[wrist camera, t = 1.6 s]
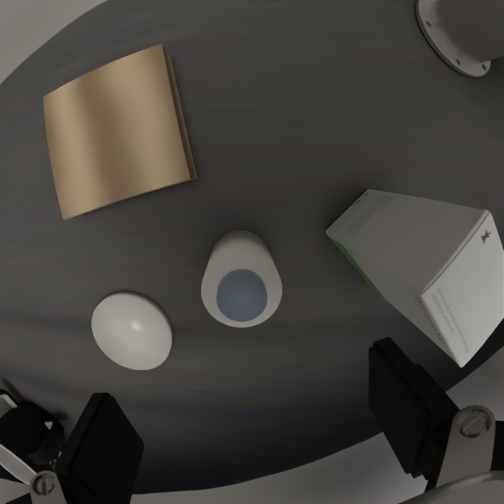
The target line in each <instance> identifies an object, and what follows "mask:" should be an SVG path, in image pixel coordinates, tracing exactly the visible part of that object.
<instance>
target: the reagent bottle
mask: <svg viewBox="0 0 504 504" xmlns="http://www.w3.org/2000/svg"><path fill="white" fill-rule="evenodd" d="M201 296H202V300H203V303H204V305H205V307H206V309H207V310H208V312H209V313H210V314H211V315H212V316H213V317H214V318H215V319H217V320H218V321H220V322H221V323H223V324H226V325H229V326H232V327H251V326H254V325H257V324H260V323H262V322H263V321H265V320H266V319H268V318H269V317H270V316H271V315H272V314H273V313H274V312H275V310H276V309H277V307H278V305H279V303H280V300H281V297H282V283H281V279H280V277H279V274H278V272H277V269H276V267H275V264H274V262H273V260H272V257H271V255H270V252H269V250H268V248H267V245H266V244H265V242H264V241H263V240H262V239H261V238H260V237H259V236H258V235H256V234H255V233H253V232H250V231H246V230H235V231H231V232H228V233H226V234H225V235H223V236H222V237H220V238H219V239H218V241H217V242H216V243H215V245H214V247H213V250H212V253H211V256H210V259H209V262H208V265H207V268H206V271H205V274H204V277H203V280H202V285H201Z"/></svg>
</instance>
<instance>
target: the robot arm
mask: <svg viewBox="0 0 504 504" xmlns="http://www.w3.org/2000/svg"><path fill="white" fill-rule="evenodd" d="M416 16H417V20H418V23H419V25H420V28H421V30H422V32H423V33H424V35H425V37H426V39H427V40H428V42H429V43H430V45H431V46H432V47H433V49H434V50H435V51H436V53H437V54H438V55H439V56H440V57H441V58H442V59H443V60H444V61H445V62H446V63H447V64H448V65H449V66H450V67H452V68H453V69H455V70H456V71H457V72H459V73H461V74H463V75H465V76H468V77H480V76H483V75H485V74H486V73H487V72H488V70H489V68H490V64H491V60H492V59H495V58H499V57H502V56H504V0H417V3H416ZM368 400H369V406H370V408H371V410H372V412H373V414H374V416H375V418H376V419H377V421H378V423H379V425H380V427H381V429H382V431H383V432H384V434H385V436H386V438H387V440H388V442H389V443H390V445H391V447H392V449H393V451H394V453H395V455H396V457H397V458H398V460H399V462H400V464H401V466H402V468H403V470H404V472H405V473H406V474H409V473H411V475H412V477H413V478H416V477H418V476H420V475H422V474H423V476H424V478H425V479H426V480H428V482H427V485H426V488H425V491H424V493H423V494H420V495H418V496H416V497H413V498H411V499H408V500H406V501H404V502H402V503H399V504H504V421H495V417H494V415H493V413H492V412H491V411H490V410H489V409H488V408H486V407H484V406H479V405H472V406H467V407H465V408H463V409H461V410H460V409H459V408H458V407H457V406H456V405H455V404H454V402H453V401H452V400H451V399H450V398H449V397H448V395H447V394H446V393H445V392H444V391H443V390H442V388H441V387H440V386H439V385H438V384H437V383H436V382H435V380H434V379H433V378H432V377H431V376H430V375H429V374H428V373H427V371H426V370H425V369H424V368H423V367H422V366H421V365H420V364H413V363H412V361H411V360H410V359H409V358H408V357H407V356H406V355H405V353H404V352H403V351H402V350H401V349H400V348H399V347H398V346H397V345H396V343H395V342H394V341H393V340H392V339H391V338H390V337H387V338H384V339H381V340H378V341H375V342H374V343H373V347H370V348H369V398H368ZM143 450H144V443H143V441H142V439H141V438H140V436H139V435H138V433H137V432H136V431H135V429H134V428H133V426H132V425H131V423H130V422H129V420H128V419H127V417H126V416H125V414H124V413H123V411H122V409H121V408H120V406H119V405H118V403H117V401H116V400H115V398H114V397H113V396H111V395H110V394H109V393H94V394H93V395H92V396H91V398H90V400H89V402H88V403H87V405H86V407H85V409H84V411H83V412H82V414H81V416H80V418H79V420H78V422H77V424H76V425H75V427H74V429H73V431H72V433H71V435H70V437H69V439H68V441H67V443H66V445H65V447H64V449H63V450H62V452H61V454H60V456H59V458H58V461H57V463H56V465H55V467H54V469H55V470H56V471H57V474H54V473H53V472H51V471H41V472H39V473H37V474H36V475H35V476H34V477H33V478H32V480H31V481H30V485H29V488H30V493H28V494H25V495H23V496H21V497H19V498H17V499H14V500H12V501H10V502H7V503H6V504H130V500H131V496H132V492H133V488H134V484H135V480H136V476H137V472H138V469H139V465H140V461H141V457H142V454H143Z"/></svg>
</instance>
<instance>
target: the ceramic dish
mask: <svg viewBox="0 0 504 504" xmlns="http://www.w3.org/2000/svg"><path fill="white" fill-rule="evenodd" d="M92 331H93V335H94V338H95V340H96V342H97V344H98V345H99V347H100V348H101V350H102V351H103V352H104V353H105V354H106V355H107V356H108V357H109V358H110V359H111V360H113V361H114V362H116V363H118V364H119V365H121V366H124V367H126V368H130V369H134V370H147V369H152V368H155V367H157V366H159V365H160V364H161V363H163V362H164V361H165V359H166V358H167V356H168V354H169V352H170V349H171V346H172V343H173V330H172V326H171V323H170V321H169V318H168V317H167V315H166V313H165V312H164V311H163V310H162V308H161V307H160V306H159V305H158V304H156V303H155V302H154V301H153V300H151V299H150V298H148V297H146V296H144V295H142V294H139V293H136V292H131V291H120V292H115V293H112V294H110V295H109V296H107V297H106V298H105V299H104V300H103V301H102V302H101V303H100V304H99V305H98V306H97V307H96V309H95V311H94V313H93V316H92Z"/></svg>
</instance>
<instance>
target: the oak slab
mask: <svg viewBox="0 0 504 504" xmlns="http://www.w3.org/2000/svg"><path fill="white" fill-rule="evenodd" d="M43 102H44V114H45V124H46V133H47V140H48V148H49V154H50V160H51V166H52V171H53V177H54V182H55V186H56V191H57V196H58V200H59V204H60V208H61V212H62V216H63V220H66V219H70V218H73V217H76V216H79V215H83V214H86V213H88V212H91V211H94V210H97V209H100V208H103V207H106V206H109V205H112V204H114V203H118V202H121V201H124V200H127V199H130V198H133V197H136V196H139V195H143V194H146V193H149V192H152V191H156V190H159V189H163V188H166V187H170V186H173V185H177V184H180V183H184V182H188V181H191V180H195V179H198V178H197V174H196V169H195V165H194V161H193V157H192V152H191V148H190V144H189V139H188V135H187V130H186V126H185V121H184V117H183V112H182V107H181V103H180V98H179V93H178V89H177V84H176V79H175V74H174V69H173V64H172V60H171V58H170V56H169V55H168V53H167V51H166V50H165V48H164V46H163V45H162V44H160V45H157V46H154V47H151V48H148V49H145V50H142V51H139V52H137V53H134V54H131V55H129V56H126V57H123V58H121V59H119V60H116V61H114V62H111V63H109V64H107V65H104V66H102V67H100V68H98V69H95V70H93V71H91V72H89V73H87V74H85V75H83V76H81V77H79V78H77V79H75V80H73V81H71V82H69V83H67V84H65V85H64V86H62V87H60V88H58V89H56V90H55V91H53V92H51V93H49V94H48V95H46V96H44V97H43Z"/></svg>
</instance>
